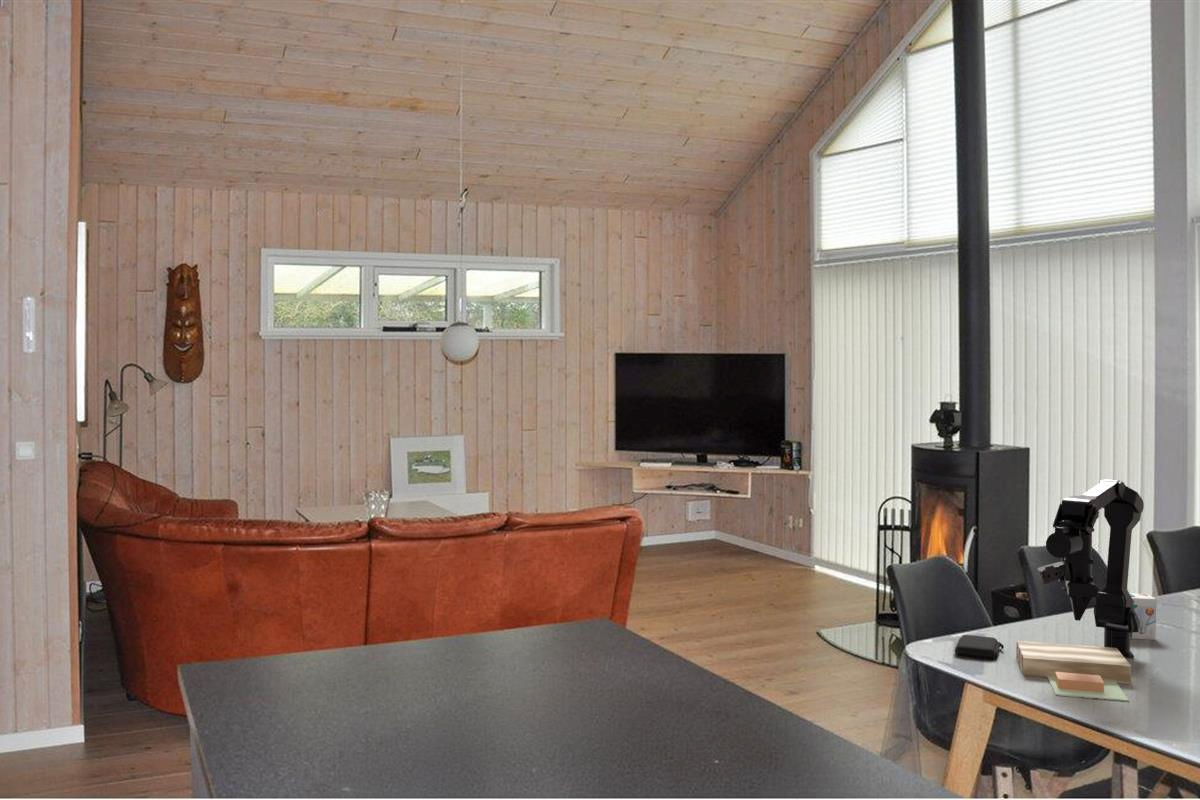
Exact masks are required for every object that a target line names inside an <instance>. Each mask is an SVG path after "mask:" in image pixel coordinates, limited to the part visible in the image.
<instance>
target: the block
mask: <svg viewBox="0 0 1200 800" xmlns="http://www.w3.org/2000/svg"><path fill="white" fill-rule="evenodd" d="M1055 682H1056V684H1057V687H1058V688H1060V689H1072V690H1083V691H1094V692H1104V682H1103V680H1102V678H1101V677H1100V675H1088V674H1077V673H1065V672H1055Z"/></svg>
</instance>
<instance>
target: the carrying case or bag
mask: <svg viewBox="0 0 1200 800" xmlns="http://www.w3.org/2000/svg"><path fill="white" fill-rule="evenodd" d="M1004 648H1005V647H1004V644H1003V643H1002V642H1000V641H998V639H996V637H991V636H980V635H972V634H963V635H962V636H961V637H960V638H959V639H958V641H957V643H956V646H955V647H954V653H955V654H956V655H957V657H959V658H965V659H967V658H968V659H976V660H977V659H978V660H985V661H992V660H994V659H995V658H997V657H998V655H999V651H1000V649H1002V650H1004Z"/></svg>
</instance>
